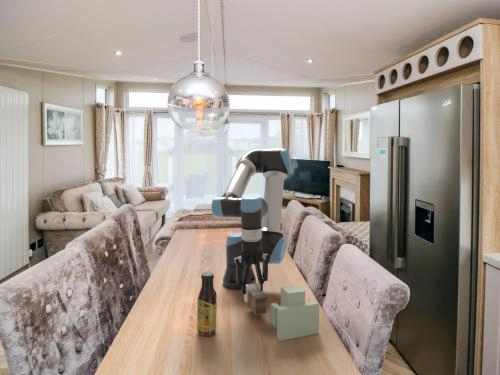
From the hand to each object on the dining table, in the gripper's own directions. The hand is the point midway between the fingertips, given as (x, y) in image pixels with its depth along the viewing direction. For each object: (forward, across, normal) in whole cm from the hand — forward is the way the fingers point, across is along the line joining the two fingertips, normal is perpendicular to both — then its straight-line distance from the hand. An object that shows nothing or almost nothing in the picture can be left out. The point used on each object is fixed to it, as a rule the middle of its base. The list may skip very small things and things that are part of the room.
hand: (252, 300), depth 131 cm
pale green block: (+4, +7, -18) cm, 20 cm away
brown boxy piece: (+1, 0, -2) cm, 3 cm away
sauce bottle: (+4, -20, -10) cm, 22 cm away
